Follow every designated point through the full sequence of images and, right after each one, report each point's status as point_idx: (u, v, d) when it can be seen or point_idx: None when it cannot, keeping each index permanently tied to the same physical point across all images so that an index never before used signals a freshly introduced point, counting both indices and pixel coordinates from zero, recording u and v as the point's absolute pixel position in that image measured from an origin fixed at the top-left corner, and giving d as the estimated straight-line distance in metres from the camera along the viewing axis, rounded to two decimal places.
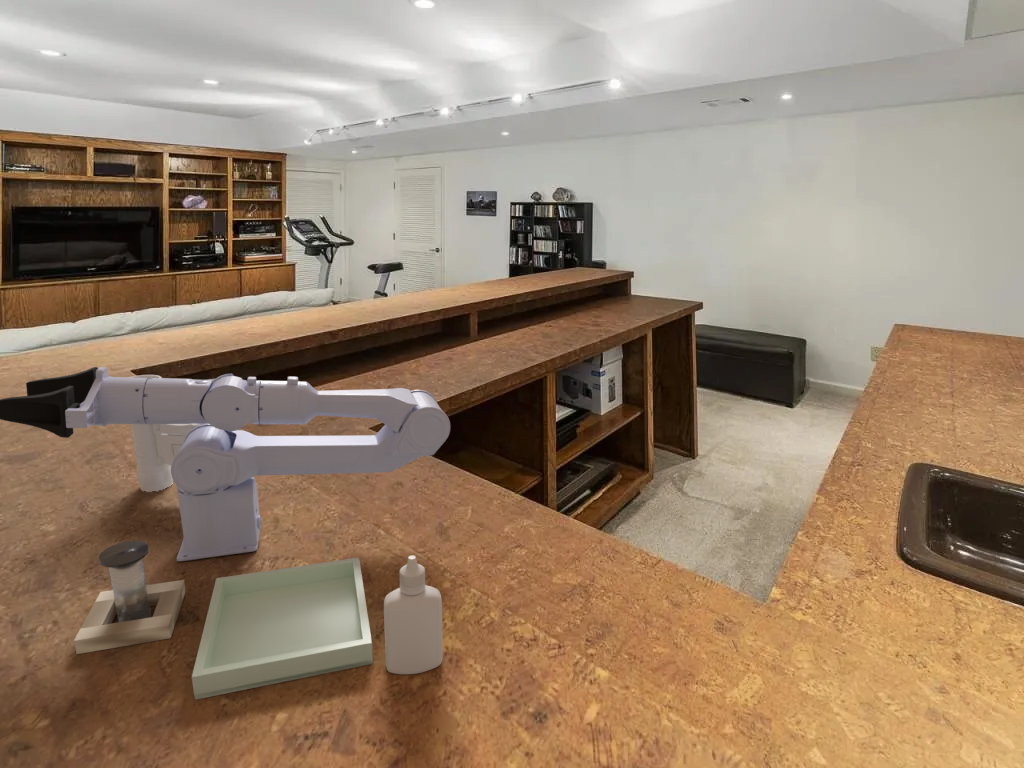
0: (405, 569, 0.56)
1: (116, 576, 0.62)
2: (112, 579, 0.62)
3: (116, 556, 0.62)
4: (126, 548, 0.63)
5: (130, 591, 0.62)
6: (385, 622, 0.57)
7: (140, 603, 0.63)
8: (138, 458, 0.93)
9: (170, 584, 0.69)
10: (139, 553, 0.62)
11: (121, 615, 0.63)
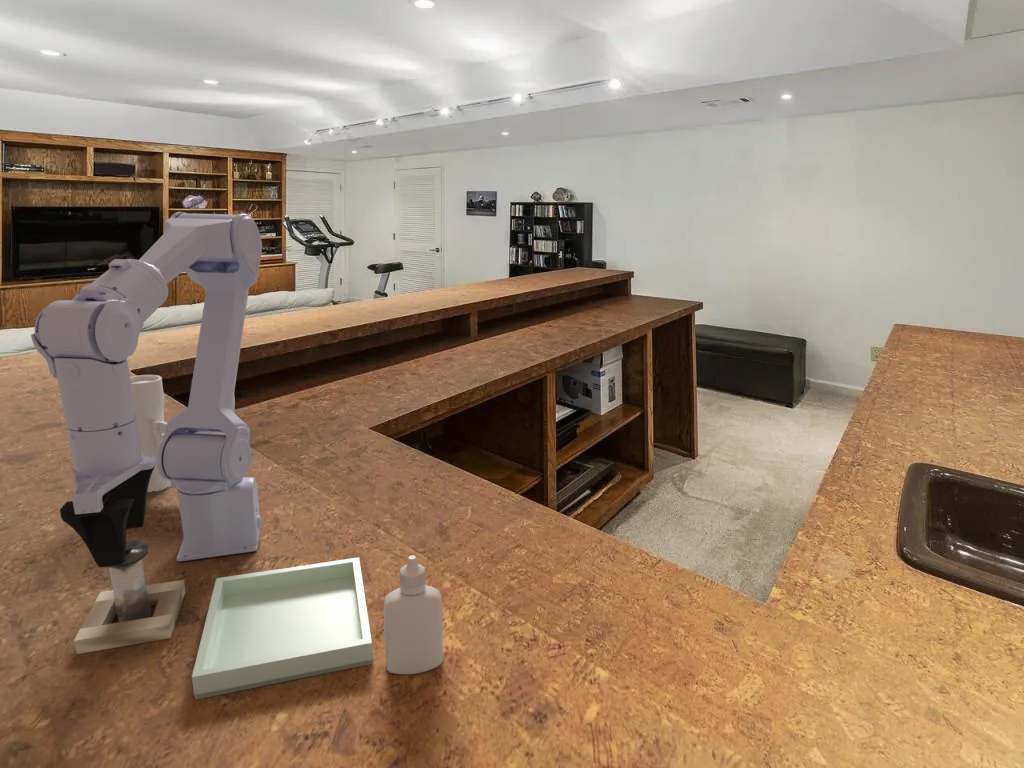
0: (405, 569, 0.57)
1: (116, 576, 0.62)
2: (112, 579, 0.62)
3: None
4: (126, 548, 0.63)
5: (130, 591, 0.62)
6: (385, 622, 0.57)
7: (140, 603, 0.63)
8: None
9: (170, 584, 0.69)
10: (139, 553, 0.62)
11: (121, 615, 0.63)
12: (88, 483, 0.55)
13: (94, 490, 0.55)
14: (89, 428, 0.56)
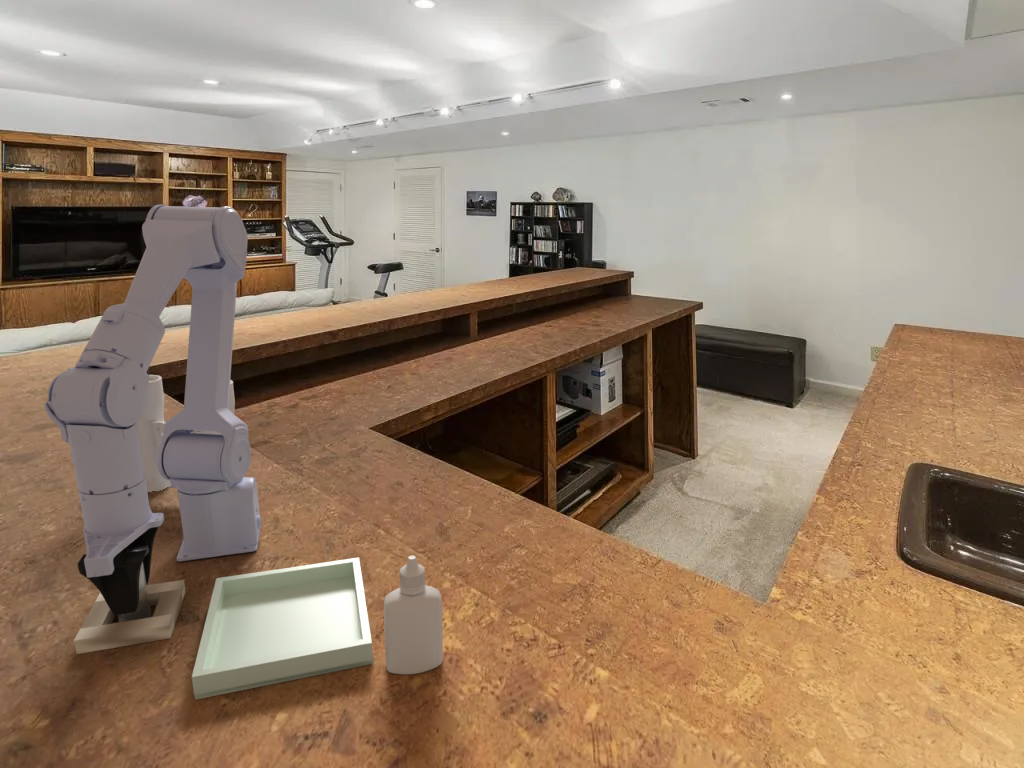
0: (405, 569, 0.56)
1: None
2: None
3: None
4: (126, 548, 0.63)
5: None
6: (385, 622, 0.57)
7: (140, 603, 0.63)
8: None
9: (170, 584, 0.69)
10: None
11: (121, 615, 0.63)
12: (99, 545, 0.57)
13: (105, 552, 0.57)
14: (100, 491, 0.58)
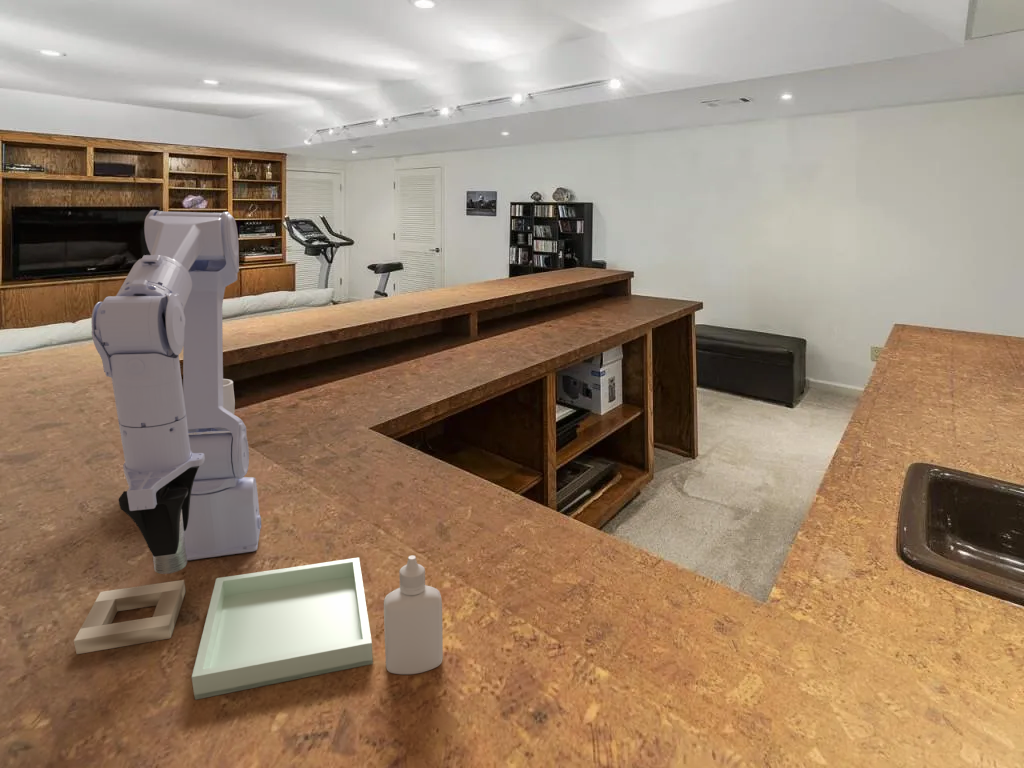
0: (405, 569, 0.57)
1: None
2: None
3: None
4: None
5: None
6: (385, 622, 0.57)
7: None
8: None
9: (170, 584, 0.69)
10: None
11: (157, 558, 0.61)
12: (141, 479, 0.55)
13: (148, 486, 0.54)
14: (154, 423, 0.56)
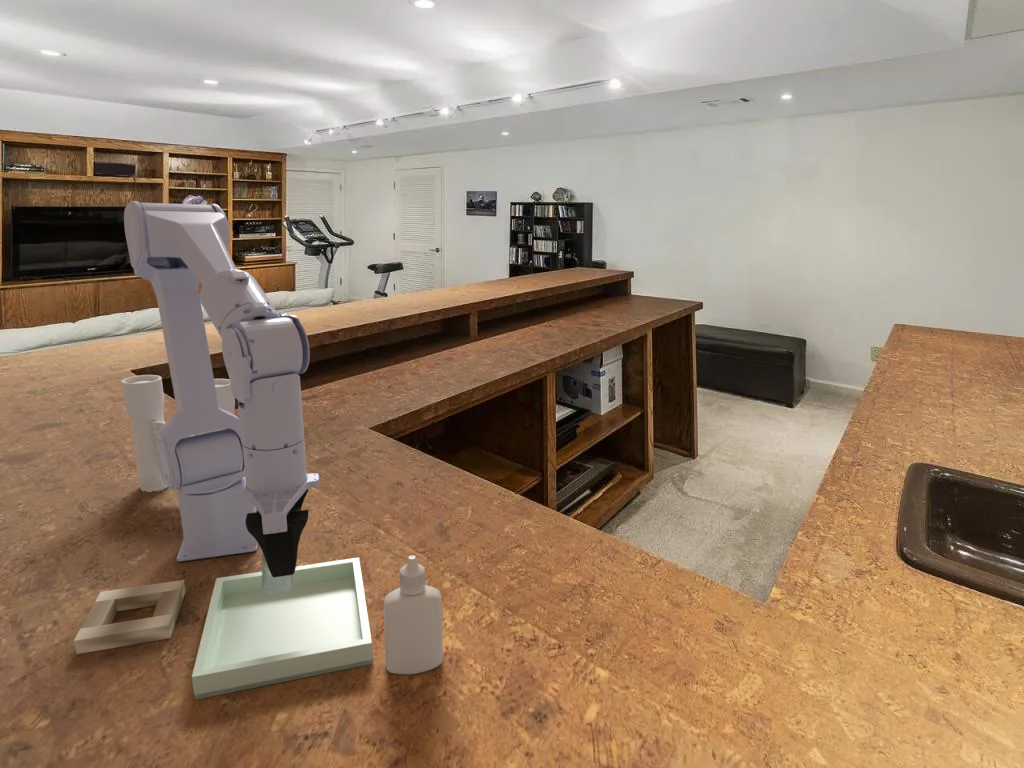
0: (405, 569, 0.56)
1: None
2: None
3: None
4: None
5: None
6: (385, 622, 0.57)
7: None
8: (138, 458, 0.93)
9: (170, 584, 0.69)
10: None
11: (268, 579, 0.61)
12: (269, 502, 0.55)
13: (278, 509, 0.55)
14: (293, 442, 0.57)
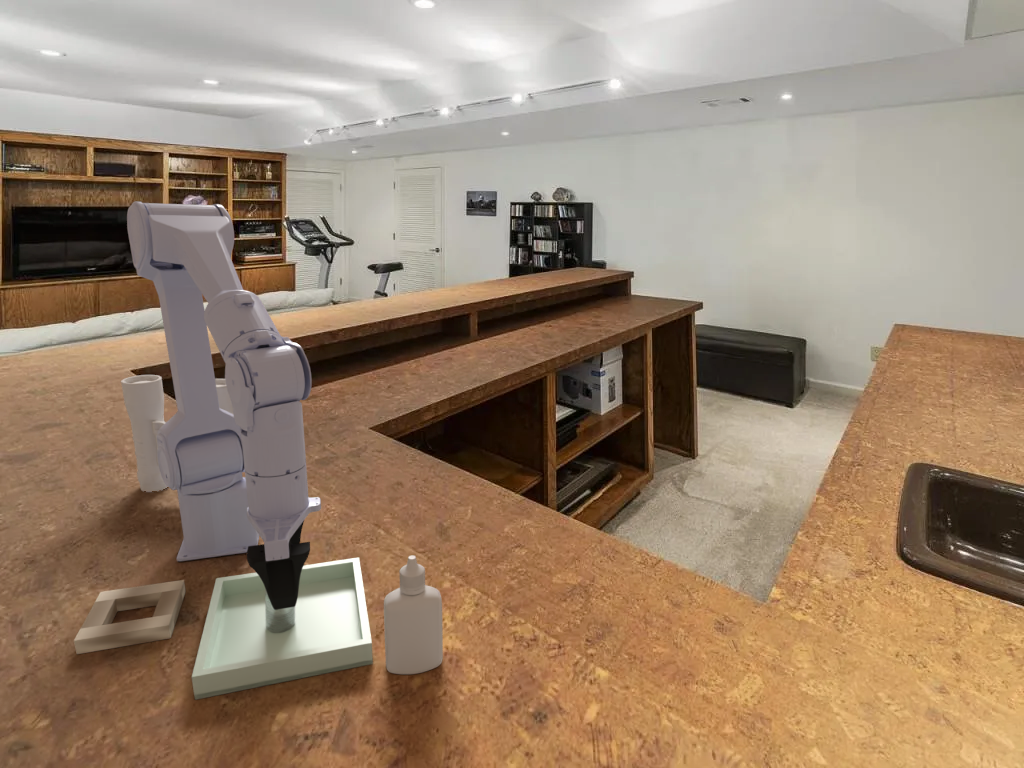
0: (405, 569, 0.57)
1: None
2: None
3: None
4: None
5: None
6: (385, 622, 0.57)
7: (290, 607, 0.63)
8: (138, 458, 0.93)
9: (170, 584, 0.69)
10: None
11: (271, 618, 0.62)
12: (272, 528, 0.56)
13: (280, 536, 0.55)
14: (295, 468, 0.58)
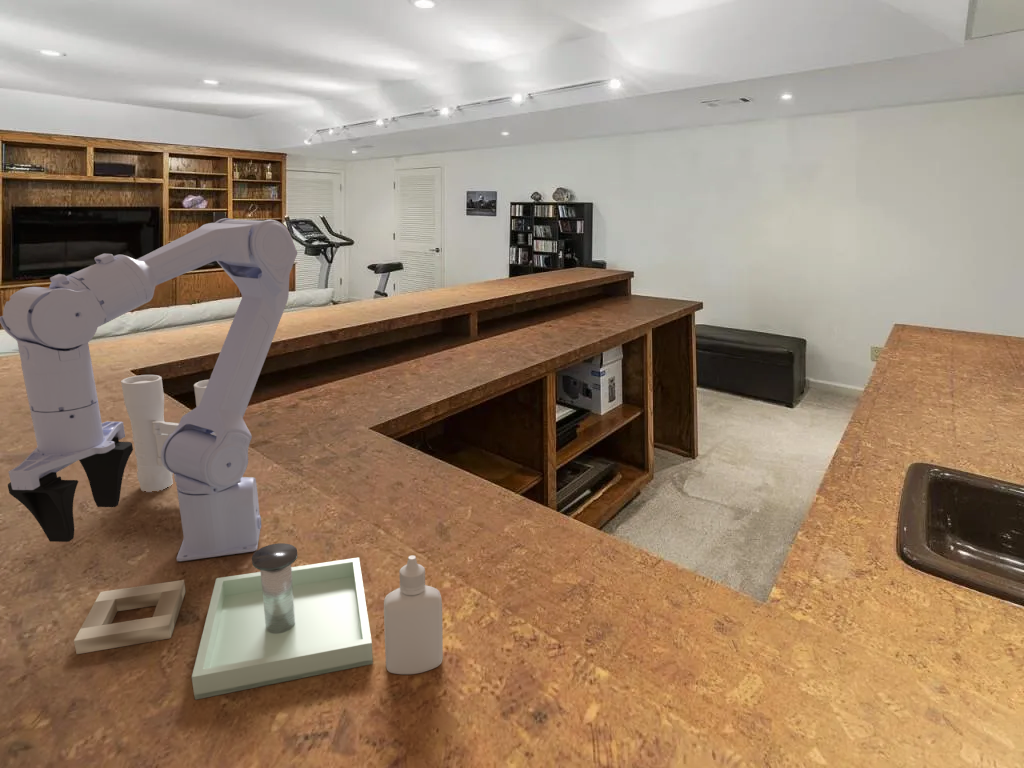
0: (405, 569, 0.57)
1: (269, 580, 0.61)
2: (264, 582, 0.61)
3: (269, 559, 0.61)
4: (275, 550, 0.62)
5: (281, 594, 0.62)
6: (385, 622, 0.57)
7: (289, 606, 0.63)
8: (138, 458, 0.93)
9: (170, 584, 0.69)
10: (291, 556, 0.62)
11: (270, 619, 0.62)
12: (34, 461, 0.58)
13: None
14: (38, 409, 0.59)
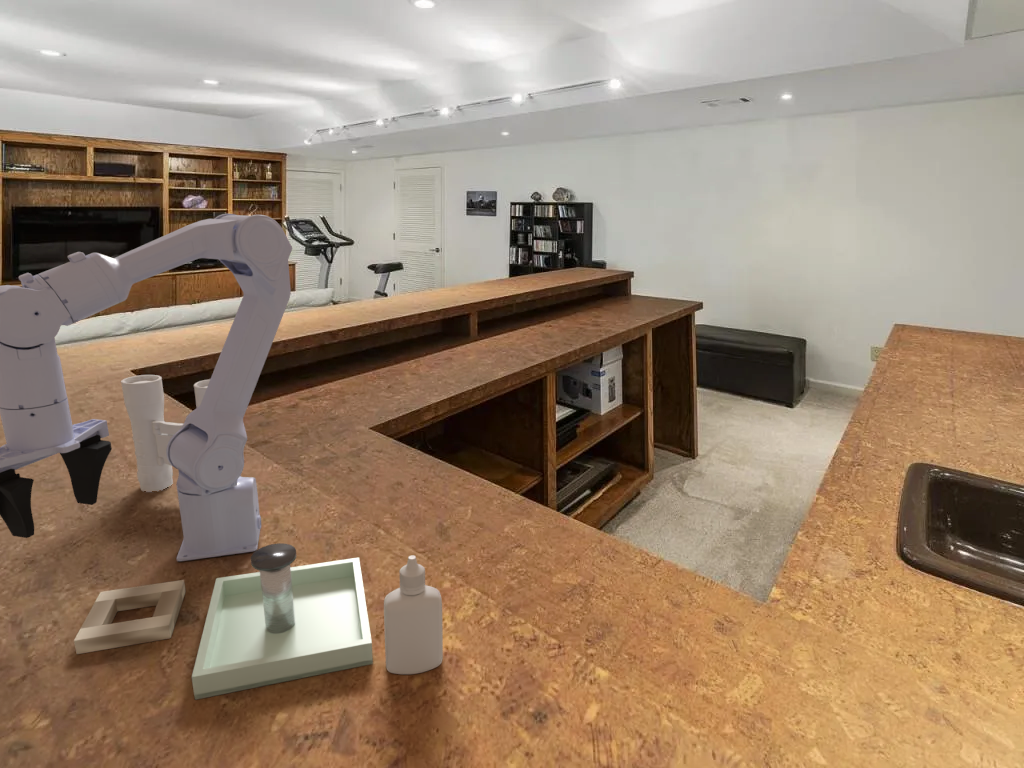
0: (405, 569, 0.56)
1: (268, 580, 0.61)
2: (263, 582, 0.61)
3: (268, 559, 0.61)
4: (274, 551, 0.62)
5: (281, 595, 0.62)
6: (385, 622, 0.57)
7: (288, 606, 0.63)
8: (138, 458, 0.93)
9: (170, 584, 0.69)
10: (290, 556, 0.61)
11: (270, 619, 0.62)
12: None
13: None
14: (1, 405, 0.60)
